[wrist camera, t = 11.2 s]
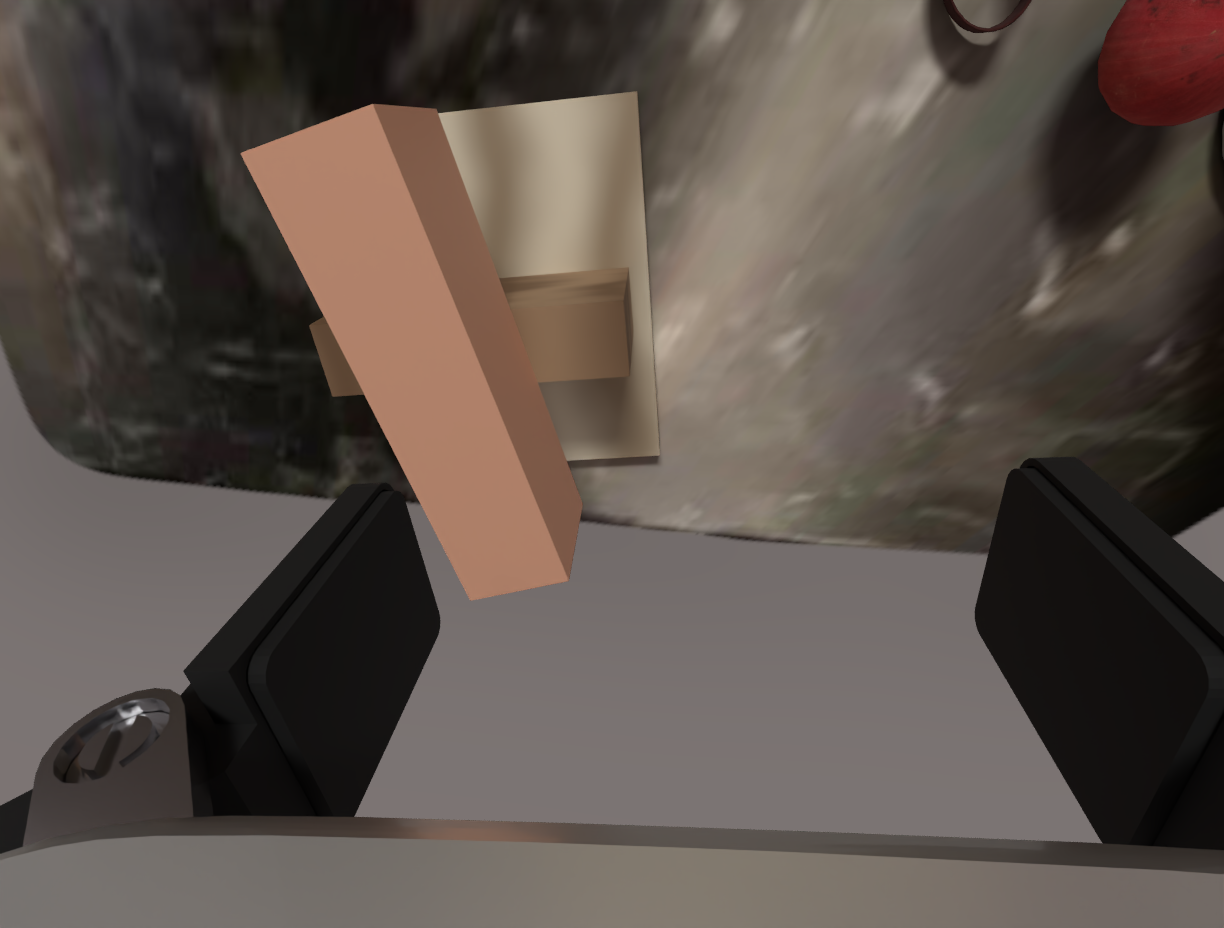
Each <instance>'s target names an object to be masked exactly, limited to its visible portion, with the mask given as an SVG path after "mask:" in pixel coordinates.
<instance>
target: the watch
mask: <svg viewBox="0 0 1224 928" xmlns="http://www.w3.org/2000/svg"><path fill="white" fill-rule="evenodd" d="M943 1H944V4H945V7H946V10H947V11H948V13H949V15H950V17H951V18H952V19H953V20H954V21H955V22H956V23H957V24H958V25H959V26H960V27H961V28H963V29H965V30H967V31H970V32H973V33H985V32H994V31H997V30H1001V29H1003V28H1005V27H1007V26H1009V25H1010V24H1011V23H1013V22H1014V21H1015V20H1016V19H1017V18H1018V17H1019V16H1020V15H1021V14H1022V13H1023V12H1024V11H1025V10H1026V8H1027V7H1028V6H1029V4H1030V2H1031V1H1032V0H1020V2H1019V4H1018V5H1017V7H1016V8H1015V9H1014V11H1013V12H1012V13H1011V14H1010V15H1009V16H1008V17H1007V18H1006V19H1005V20H1004V21H1003V22H1001V23H1000V24H998V25H996V26H993V27H991V28H981V27H977V26H975V25H973V24H971V23H969V22H968V21H967V20H966V19H965V18H964V17H963V16H962V15H961V13H960V12H959V11H958V10H957V8H956V6H955V4H954V2H953V0H943Z"/></svg>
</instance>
